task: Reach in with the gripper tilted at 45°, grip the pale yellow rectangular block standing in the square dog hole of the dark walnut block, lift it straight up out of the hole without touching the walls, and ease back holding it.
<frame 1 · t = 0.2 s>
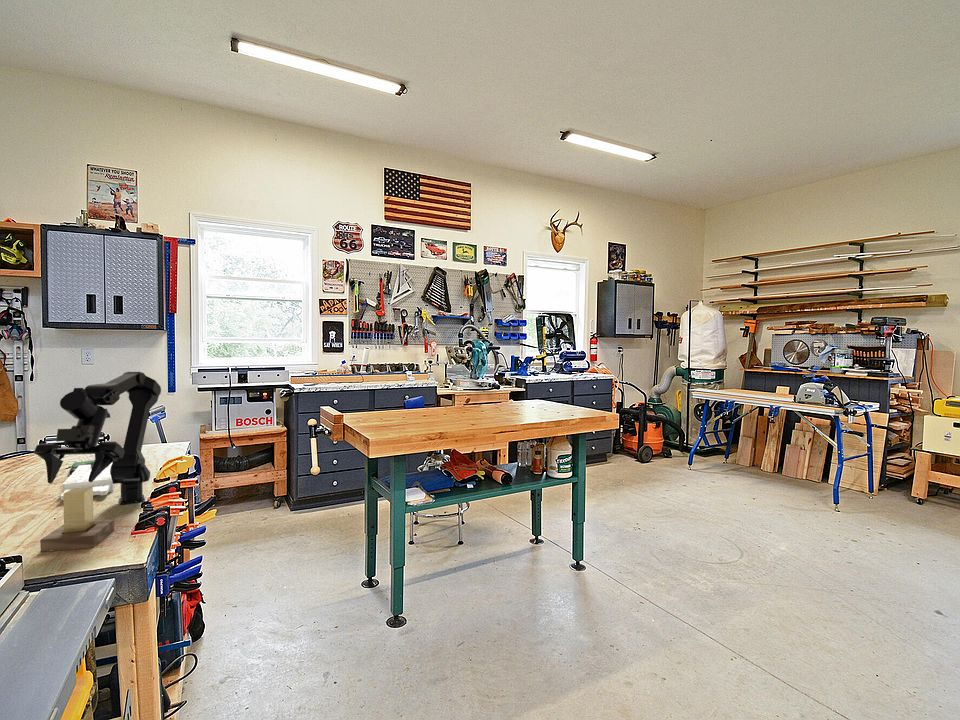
hand: (69, 482, 126), 14 cm above the workbench, tool tilted 35°, fingers open, 9 cm apart
pale yellow rectangular block: (78, 515, 125), in the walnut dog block
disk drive: (88, 471, 192), on the workbench
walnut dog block: (79, 540, 125), on the workbench
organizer: (93, 488, 170), on the workbench
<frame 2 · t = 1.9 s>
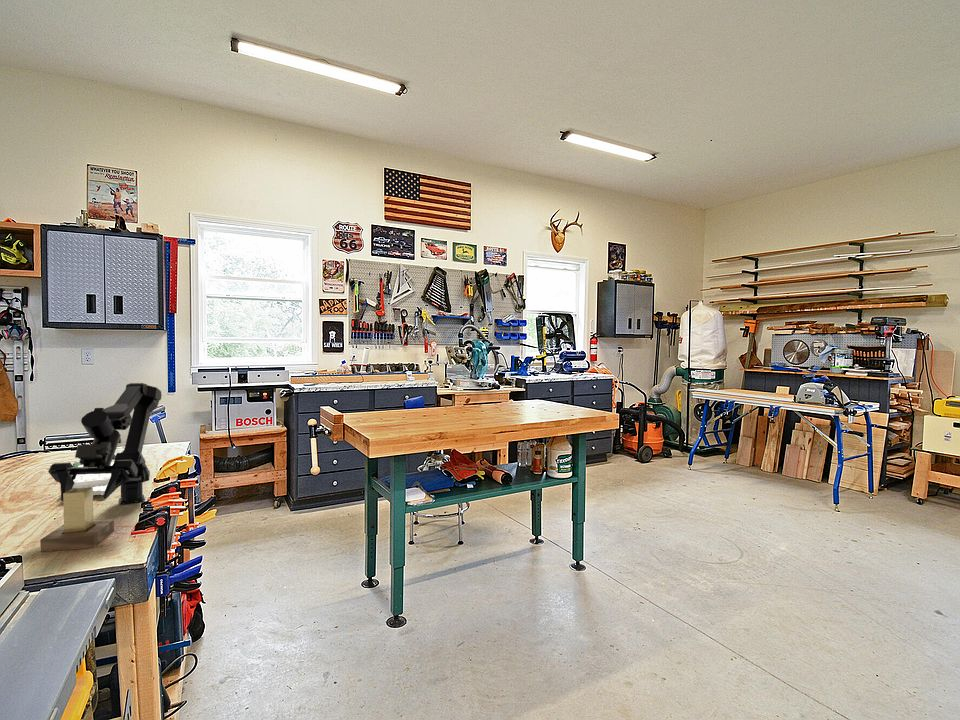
hand: (84, 499, 127), 10 cm above the workbench, tool tilted 45°, fingers open, 9 cm apart
nothing on the workbench moved.
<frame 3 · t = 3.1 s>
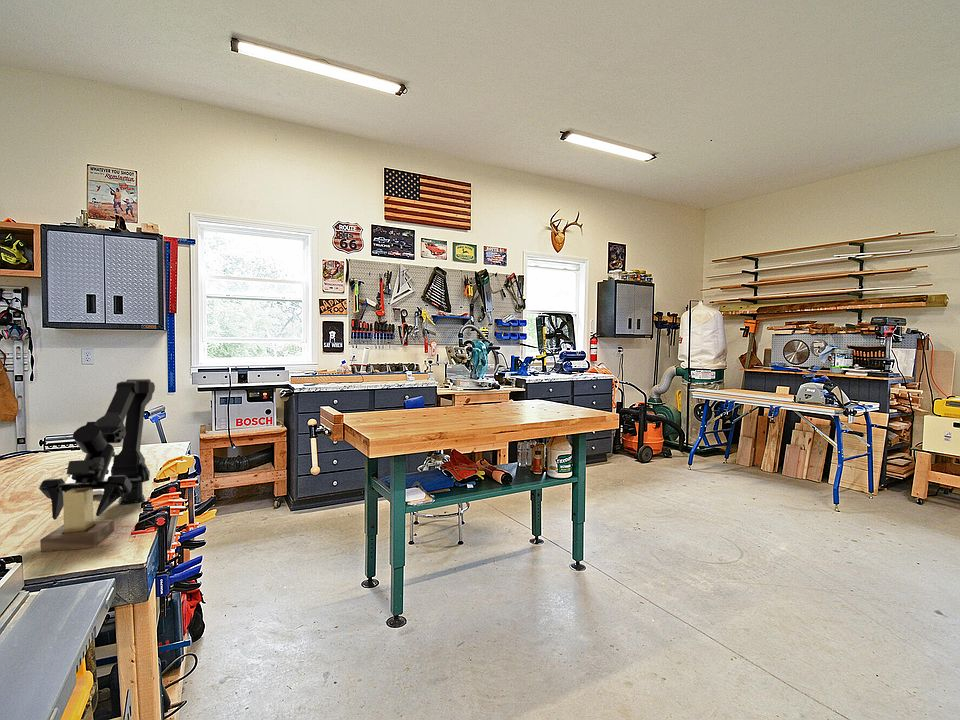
hand: (75, 517, 123), 7 cm above the workbench, tool tilted 45°, fingers open, 9 cm apart
nothing on the workbench moved.
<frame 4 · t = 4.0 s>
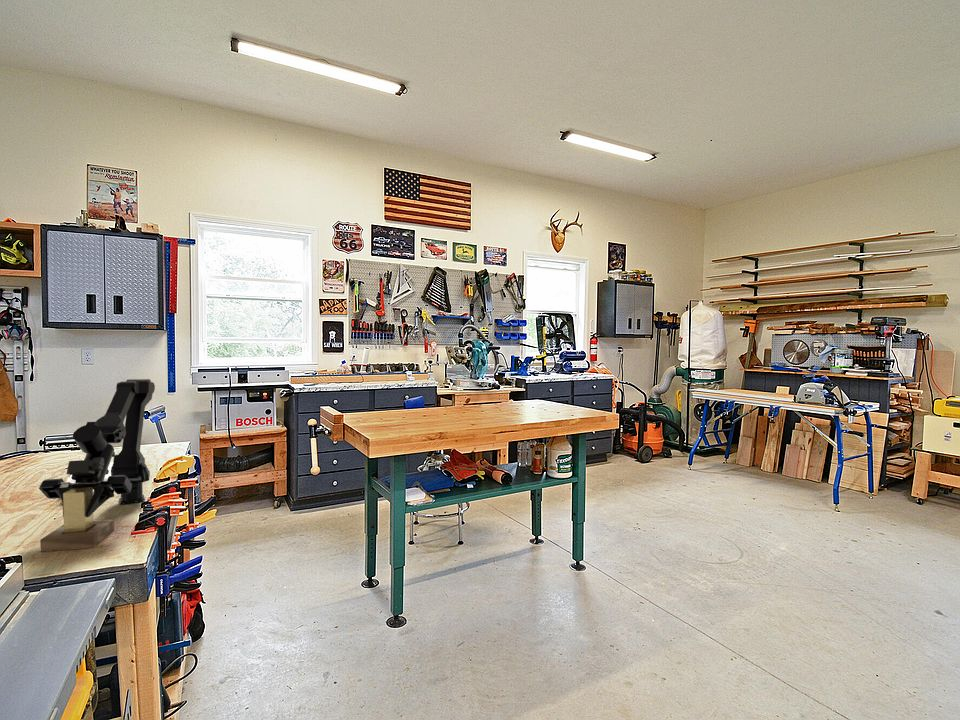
hand: (75, 517, 123), 7 cm above the workbench, tool tilted 45°, fingers closed on pale yellow rectangular block, 4 cm apart
pale yellow rectangular block: (78, 515, 125), in the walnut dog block, touching gripper
everything else where it was.
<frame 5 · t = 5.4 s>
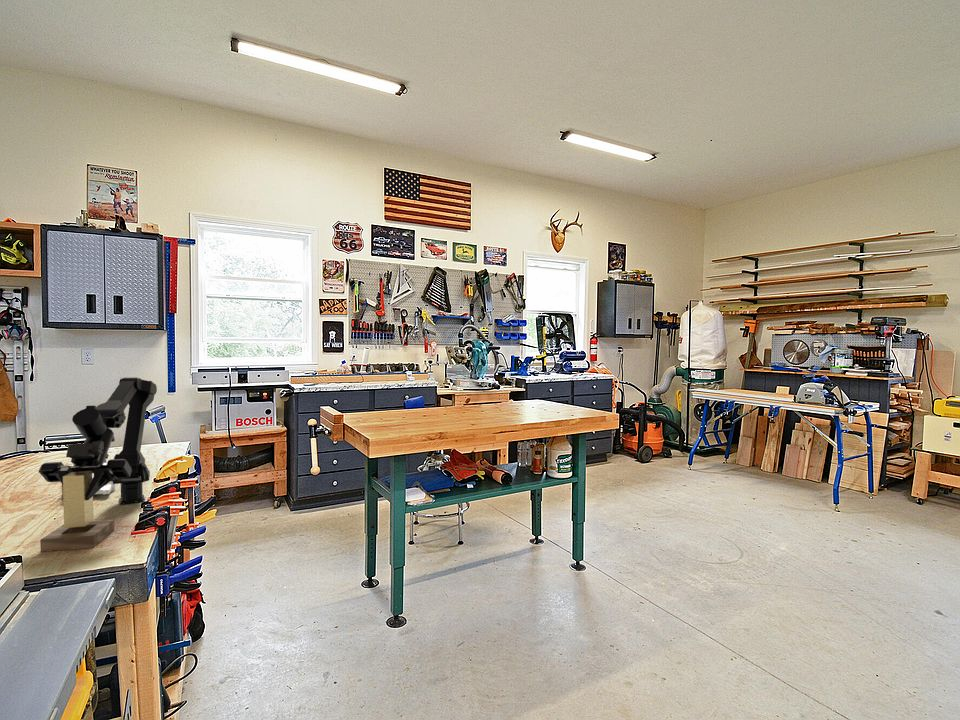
hand: (75, 500, 123), 11 cm above the workbench, tool tilted 45°, fingers closed on pale yellow rectangular block, 4 cm apart
pale yellow rectangular block: (78, 498, 124), point 11 cm above the workbench, touching gripper
everything else where it was.
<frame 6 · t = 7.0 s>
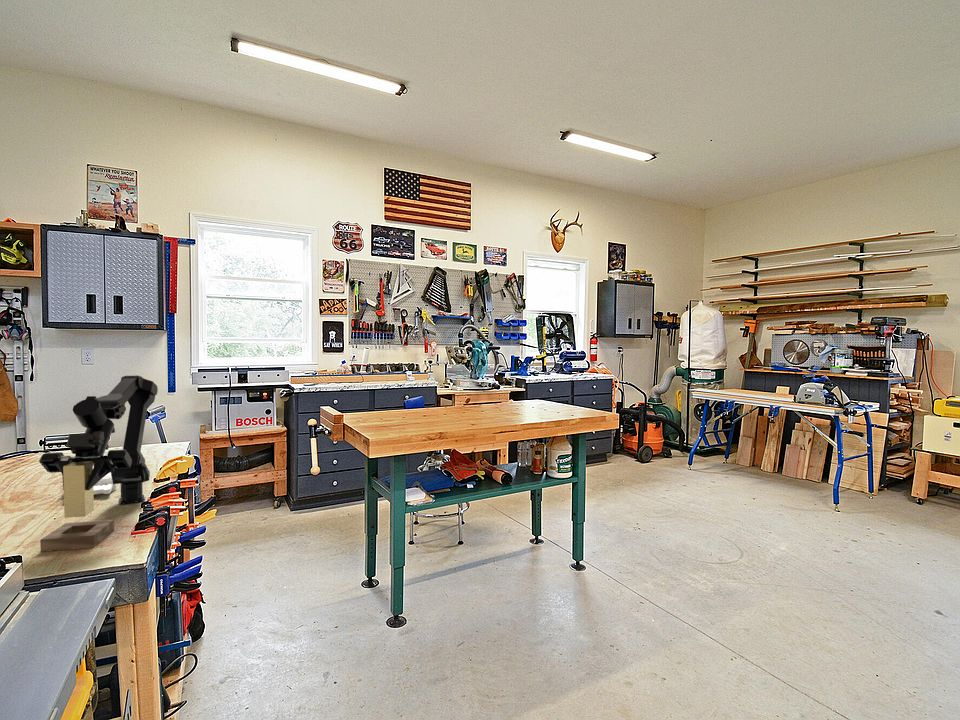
hand: (76, 490, 123), 13 cm above the workbench, tool tilted 45°, fingers closed on pale yellow rectangular block, 4 cm apart
pale yellow rectangular block: (78, 488, 125), point 13 cm above the workbench, touching gripper
everything else where it was.
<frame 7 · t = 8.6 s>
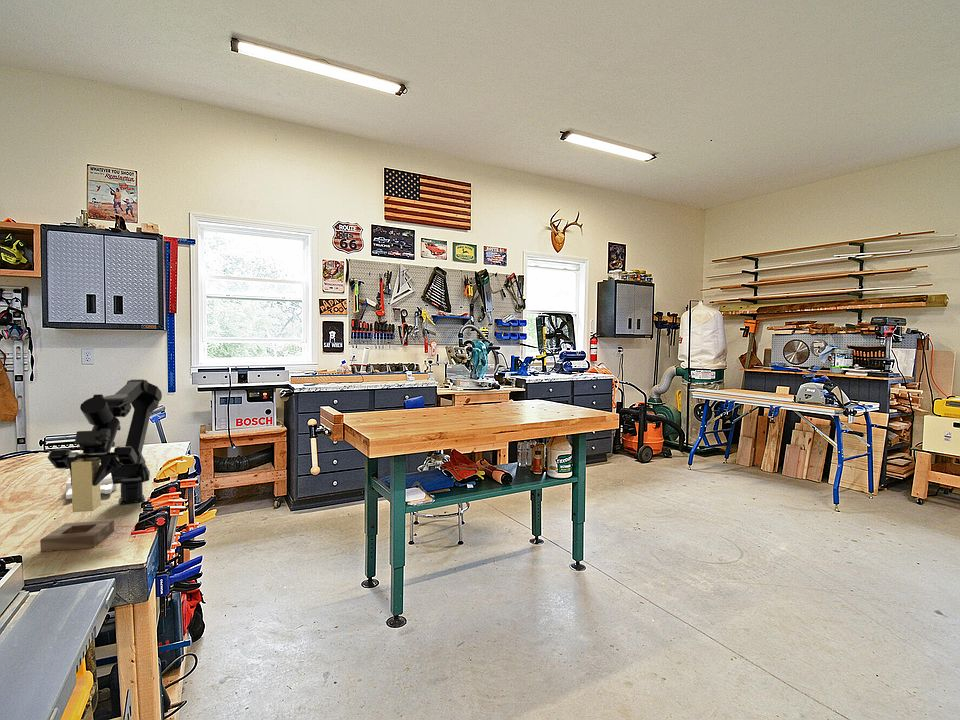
hand: (83, 485, 127), 13 cm above the workbench, tool tilted 45°, fingers closed on pale yellow rectangular block, 4 cm apart
pale yellow rectangular block: (86, 484, 128), point 13 cm above the workbench, touching gripper
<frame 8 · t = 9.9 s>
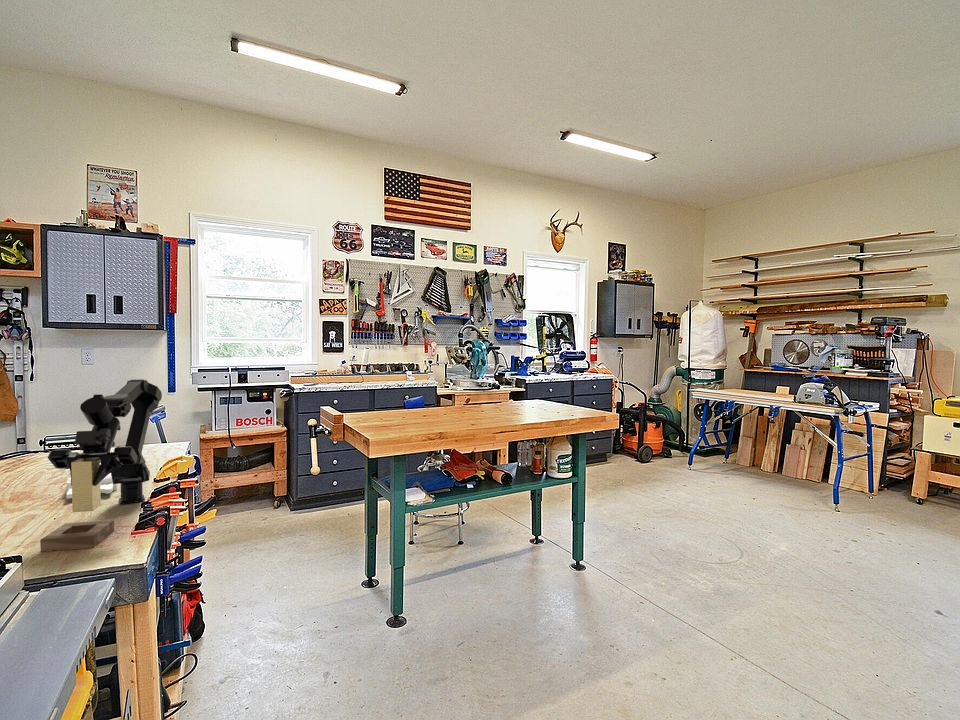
hand: (83, 485, 127), 13 cm above the workbench, tool tilted 45°, fingers closed on pale yellow rectangular block, 4 cm apart
pale yellow rectangular block: (86, 484, 128), point 13 cm above the workbench, touching gripper
at the end: the gripper is holding pale yellow rectangular block; pale yellow rectangular block point 13.3 cm above the workbench; pale yellow rectangular block touching gripper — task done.
